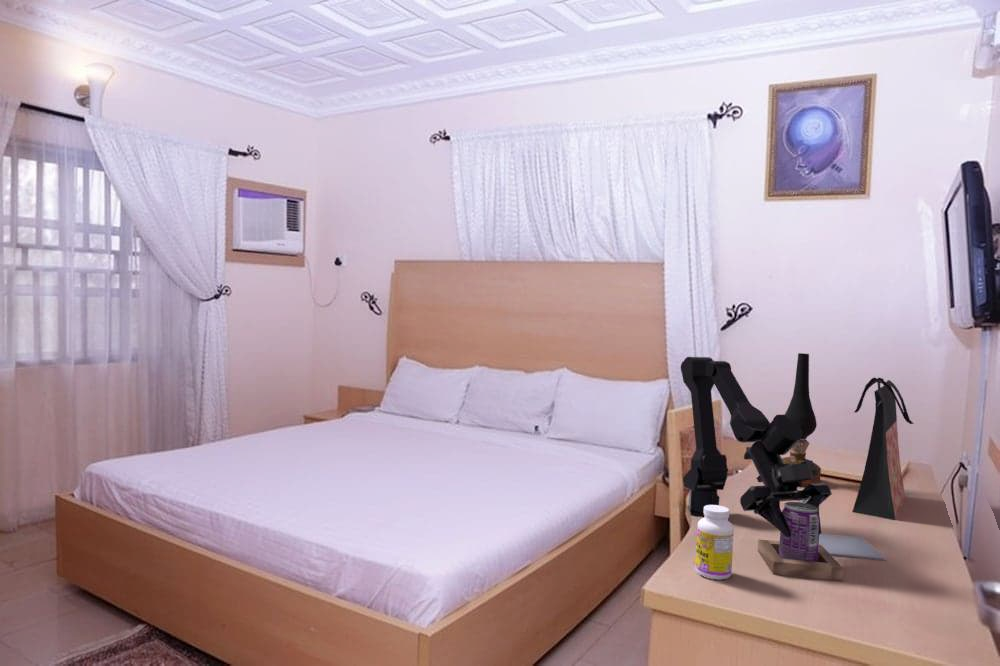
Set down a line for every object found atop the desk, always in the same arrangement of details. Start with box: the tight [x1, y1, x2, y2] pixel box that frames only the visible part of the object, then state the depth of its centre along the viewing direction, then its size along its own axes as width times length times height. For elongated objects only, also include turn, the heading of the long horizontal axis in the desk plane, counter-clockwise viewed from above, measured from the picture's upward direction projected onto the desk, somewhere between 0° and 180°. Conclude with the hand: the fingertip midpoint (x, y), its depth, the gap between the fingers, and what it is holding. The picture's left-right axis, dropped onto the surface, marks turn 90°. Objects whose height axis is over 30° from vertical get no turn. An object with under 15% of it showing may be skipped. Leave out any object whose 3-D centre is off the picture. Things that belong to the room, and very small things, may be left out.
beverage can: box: [779, 501, 821, 562], centre depth 133 cm, size 7×7×12 cm
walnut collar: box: [757, 538, 844, 582], centre depth 133 cm, size 13×13×2 cm
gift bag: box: [852, 377, 914, 521], centre depth 177 cm, size 29×14×35 cm, turn 144°
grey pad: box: [818, 533, 886, 561], centre depth 145 cm, size 13×13×1 cm
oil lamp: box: [781, 352, 822, 488], centre depth 204 cm, size 14×15×40 cm
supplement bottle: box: [694, 504, 735, 581], centre depth 126 cm, size 7×7×13 cm
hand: (804, 535), depth 131 cm, fingers closed on beverage can, 7 cm apart
